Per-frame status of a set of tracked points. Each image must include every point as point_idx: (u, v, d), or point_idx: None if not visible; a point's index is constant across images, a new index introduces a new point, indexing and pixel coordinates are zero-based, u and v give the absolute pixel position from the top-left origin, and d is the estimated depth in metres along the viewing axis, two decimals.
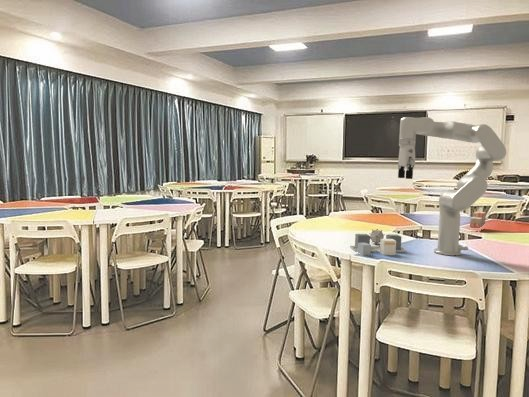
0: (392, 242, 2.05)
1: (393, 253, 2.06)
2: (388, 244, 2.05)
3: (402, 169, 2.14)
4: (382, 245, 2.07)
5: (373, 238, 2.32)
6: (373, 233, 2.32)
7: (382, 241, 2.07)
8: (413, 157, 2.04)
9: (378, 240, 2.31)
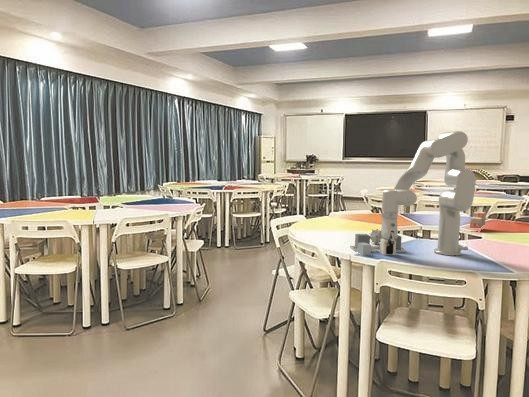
0: None
1: (393, 253, 2.06)
2: None
3: None
4: (382, 245, 2.07)
5: (373, 238, 2.32)
6: (373, 233, 2.32)
7: (382, 241, 2.07)
8: (395, 231, 2.02)
9: (378, 240, 2.31)
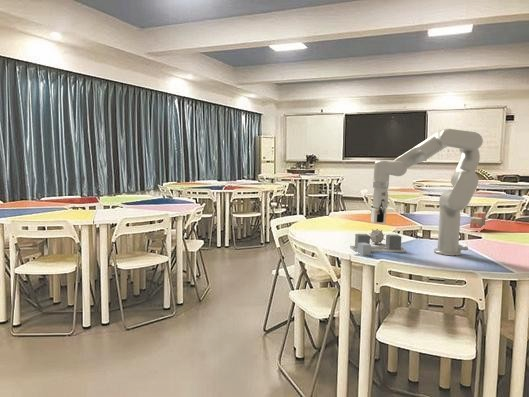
0: None
1: (383, 221, 2.14)
2: None
3: None
4: (373, 214, 2.15)
5: (373, 238, 2.32)
6: (373, 233, 2.32)
7: (373, 210, 2.15)
8: (386, 200, 2.10)
9: (378, 240, 2.31)
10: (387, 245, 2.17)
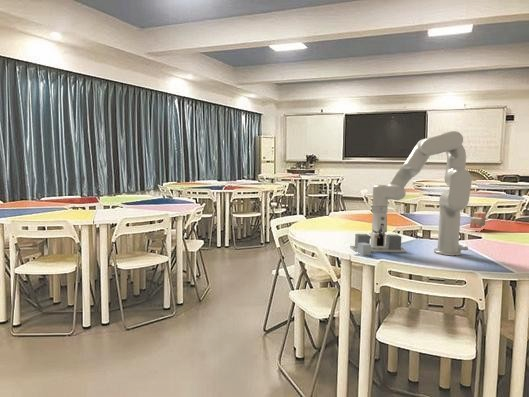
0: None
1: (383, 246, 2.15)
2: None
3: None
4: (372, 238, 2.16)
5: None
6: None
7: (372, 234, 2.16)
8: (385, 224, 2.11)
9: None
10: (387, 245, 2.17)
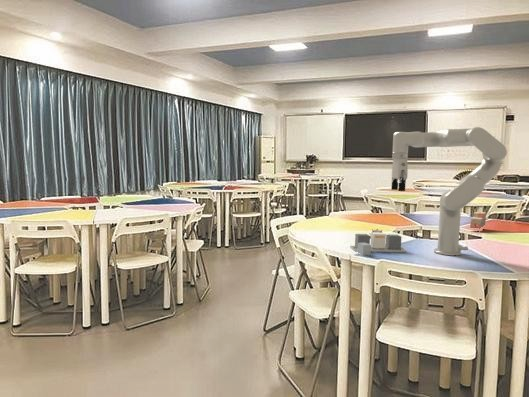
0: (382, 235, 2.14)
1: (383, 246, 2.15)
2: (378, 237, 2.14)
3: (395, 181, 2.22)
4: (372, 238, 2.16)
5: None
6: None
7: (372, 234, 2.16)
8: (405, 170, 2.12)
9: None
10: (387, 245, 2.17)
